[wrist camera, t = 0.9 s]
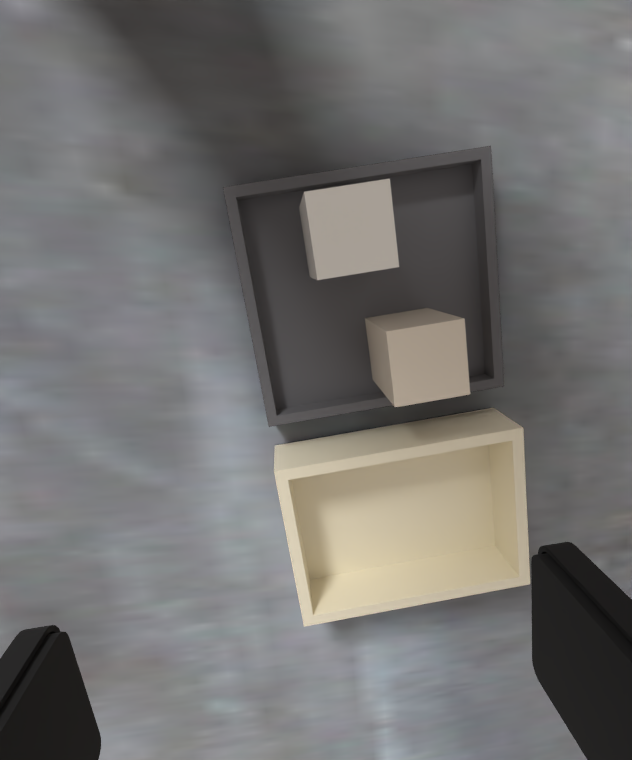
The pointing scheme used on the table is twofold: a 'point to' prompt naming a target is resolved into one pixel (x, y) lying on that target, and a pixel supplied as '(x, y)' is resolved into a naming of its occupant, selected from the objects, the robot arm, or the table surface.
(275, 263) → the pan
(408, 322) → the stone
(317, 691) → the table surface
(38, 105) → the table surface
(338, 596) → the tub
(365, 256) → the stone
